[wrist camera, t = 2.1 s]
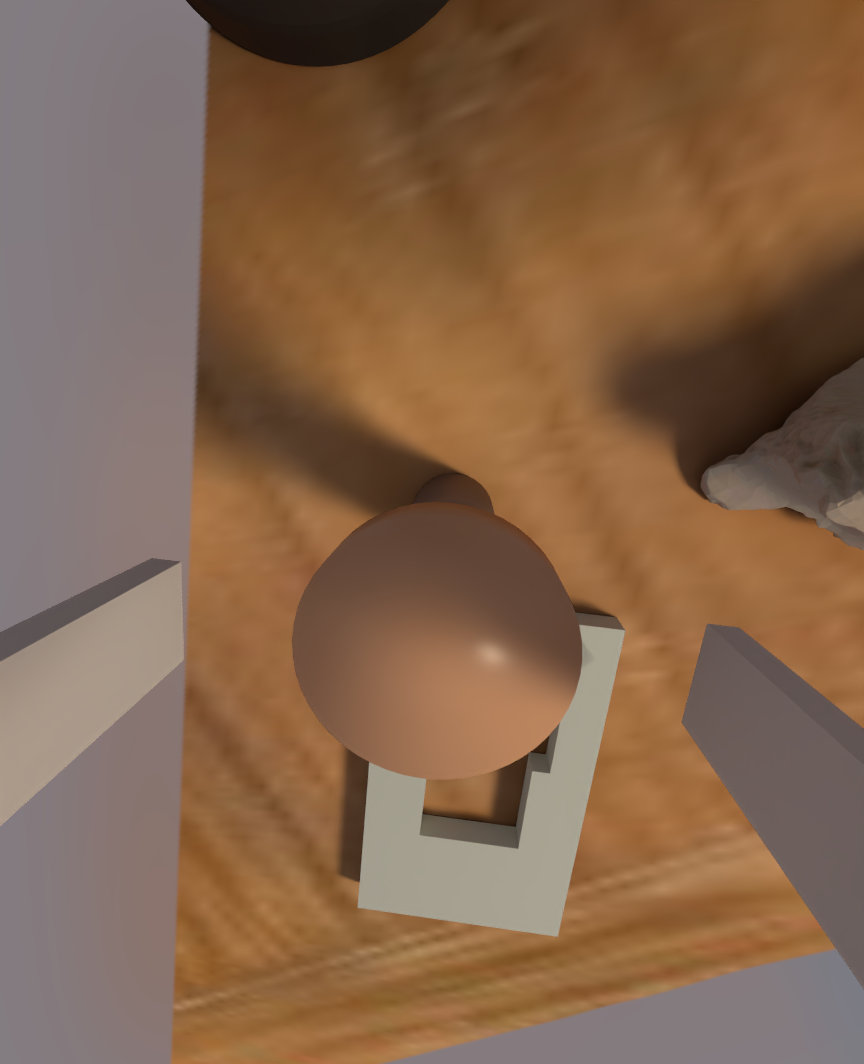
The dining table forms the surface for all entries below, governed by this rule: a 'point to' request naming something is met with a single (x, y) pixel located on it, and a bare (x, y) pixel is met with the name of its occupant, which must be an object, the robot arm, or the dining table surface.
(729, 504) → the decorative stone
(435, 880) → the keyhole board
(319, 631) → the peg
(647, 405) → the dining table surface
